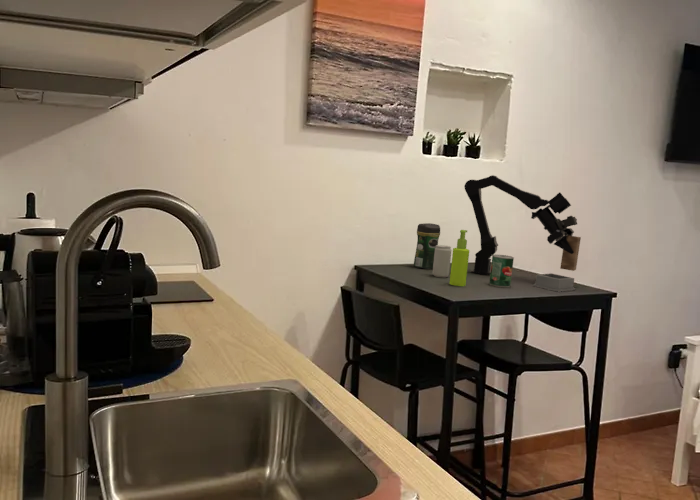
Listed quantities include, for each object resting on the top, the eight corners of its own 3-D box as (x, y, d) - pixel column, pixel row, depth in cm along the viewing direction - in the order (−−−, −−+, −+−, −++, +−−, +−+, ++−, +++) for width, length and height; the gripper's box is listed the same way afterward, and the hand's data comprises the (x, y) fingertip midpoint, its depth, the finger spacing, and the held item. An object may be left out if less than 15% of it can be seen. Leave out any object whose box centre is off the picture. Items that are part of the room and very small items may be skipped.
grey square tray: (558, 291, 237) (560, 279, 236) (533, 285, 245) (534, 274, 244) (574, 290, 244) (576, 278, 243) (549, 284, 252) (551, 273, 251)
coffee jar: (427, 265, 273) (432, 222, 271) (439, 269, 267) (444, 224, 264) (410, 266, 268) (414, 222, 265) (422, 269, 261) (426, 224, 259)
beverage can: (449, 278, 245) (453, 247, 244) (433, 277, 245) (436, 246, 244) (447, 275, 252) (450, 245, 250) (431, 274, 252) (434, 244, 250)
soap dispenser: (467, 284, 236) (473, 230, 234) (464, 287, 230) (470, 231, 227) (451, 281, 238) (457, 228, 236) (447, 284, 232) (453, 230, 229)
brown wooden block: (560, 268, 250) (565, 235, 248) (563, 267, 253) (567, 235, 252) (573, 270, 247) (578, 237, 246) (575, 269, 251) (580, 237, 249)
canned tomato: (509, 288, 236) (513, 258, 234) (488, 285, 238) (491, 256, 236) (510, 284, 243) (514, 256, 242) (489, 282, 245) (493, 253, 244)
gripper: (559, 208, 241) (585, 241, 237) (571, 208, 257) (596, 239, 253) (536, 226, 247) (561, 259, 242) (549, 225, 262) (573, 255, 258)
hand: (574, 252), depth 249 cm, fingers closed on brown wooden block, 4 cm apart
